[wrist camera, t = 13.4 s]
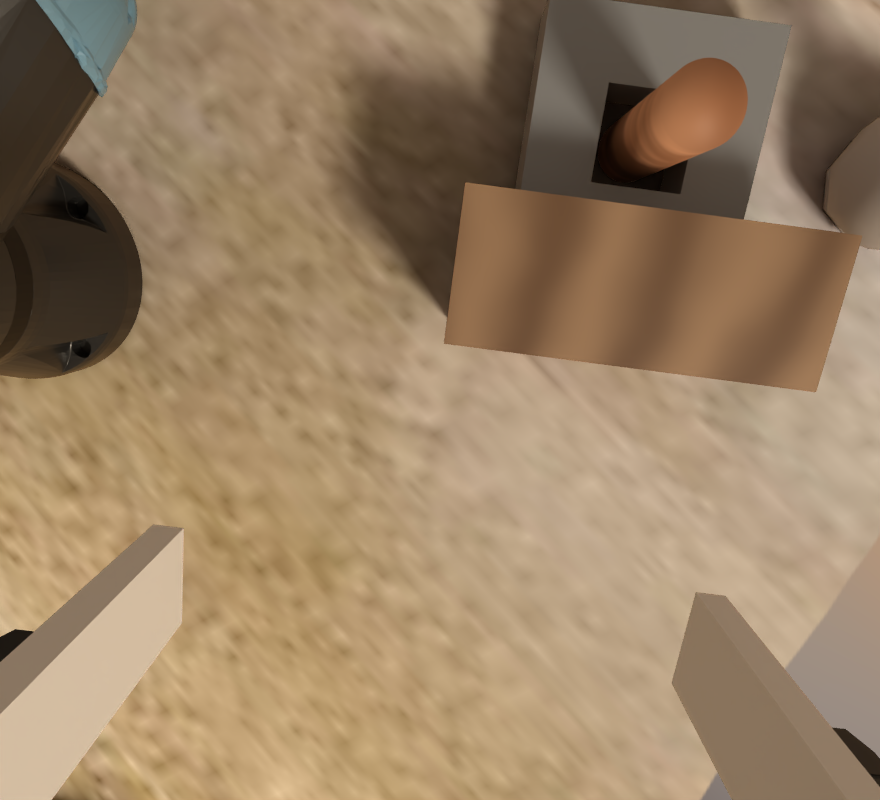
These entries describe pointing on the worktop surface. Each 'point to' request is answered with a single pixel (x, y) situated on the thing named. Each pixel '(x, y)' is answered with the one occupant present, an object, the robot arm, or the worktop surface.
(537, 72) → the socket block
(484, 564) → the worktop surface
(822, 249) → the wooden bench
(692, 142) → the peg
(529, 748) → the worktop surface
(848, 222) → the potion bottle
